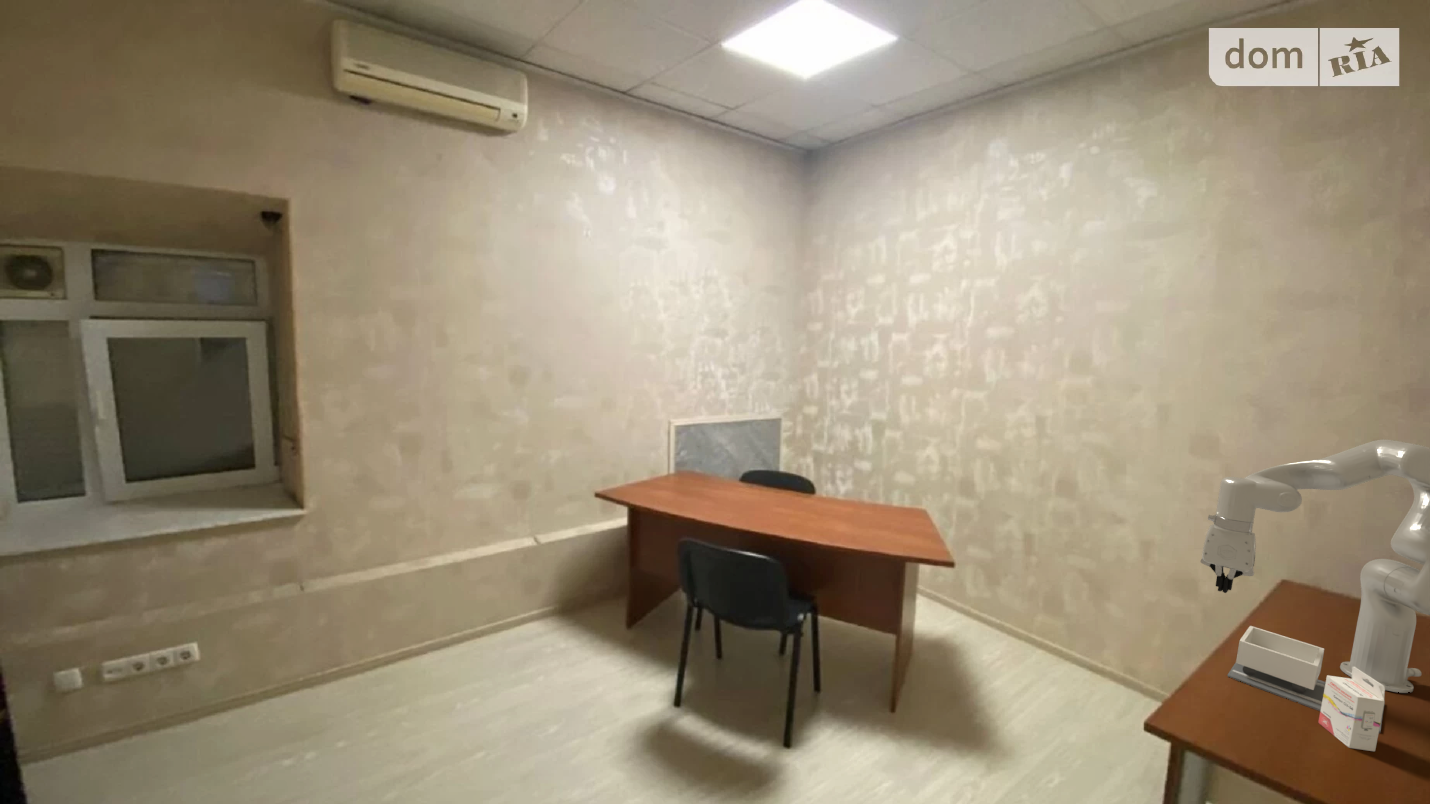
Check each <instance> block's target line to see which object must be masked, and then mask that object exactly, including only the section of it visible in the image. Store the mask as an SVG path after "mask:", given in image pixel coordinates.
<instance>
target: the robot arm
mask: <svg viewBox="0 0 1430 804" xmlns="http://www.w3.org/2000/svg"><path fill="white" fill-rule="evenodd" d="M1386 476H1395V477H1400V478H1403V479H1406V480H1407V481H1408V483H1409V484H1410V486H1411V488H1412V490H1413V497H1414V498H1413V502H1412V505H1411V507H1410V508H1409V510H1408V512H1407V513H1406V515H1405V517H1404V518H1403V519H1402V521H1401V523H1400V524H1399V526H1398V527H1397V529H1396V531H1395V532H1394V534H1393V536H1391V537H1392V538H1391V540H1390V547H1391V549H1392V550H1393V551H1394V553H1395V554H1397V555H1399V556H1401V557H1403V558H1405V559H1407V560H1409V561H1412V562H1415V563H1417V564H1420V565H1422V568H1421V569H1419V568H1417V567H1414V566H1411V565H1409V564H1406V563H1403V562H1401V561H1398V560H1395V559H1389V558H1378V559H1377V558H1375V559H1373V560H1369V561H1368V562H1367V563H1365V564H1364V566H1363V567H1362V568H1361V570H1360V575H1359V576H1360V578H1359V580H1360V589H1361V591H1360V592H1361V599H1360V606H1359V613H1358V617H1357V622H1356V628H1355V633H1354V638H1353V645H1352V649H1351V655H1350V661H1342V662H1341V663H1340V666H1339V668H1340V670H1341V672H1343V673H1344V674H1345V675H1347V676H1348V677H1350V678H1352V667H1356V668H1357V669H1359V670H1360V671H1362V672H1364V673H1365V674H1367V675H1368V676H1370V677H1371V678H1373V679H1374V680H1376V681H1377V682H1379V683H1380V684H1382V685H1383V686H1384V687H1385V691H1389V692H1392V693H1398V692H1399V694H1409V693H1408V692H1410V693H1413V691H1414V685H1413V683H1411V682H1410V680H1408V679H1409V678H1411V677H1421V676H1422V671H1421V670H1420V669H1419V668H1417V667H1416V668H1415V667H1414V668H1413V667H1408V665H1409V662H1410V656H1411V652H1412V646H1413V642H1414V635H1415V632H1416V631H1415V630H1416V625H1417V615H1416V614H1417V613H1416V612H1418V613H1421V614H1424V615H1426V616H1427V615H1428V616H1430V447H1428V446H1425V445H1421V444H1417V443H1416V444H1415V443H1411V442H1410V443H1409V442H1405V441H1399V440H1393V439H1378V440H1377V439H1376V440H1373V441H1369V442H1366V443H1363V444H1360V445H1357V446H1355V447H1352V448H1349V449H1346V450H1343V451H1341V452H1338V453H1334V454H1331V455H1329V456H1326V457H1322V458H1317V459H1312V460H1310V459H1309V460H1304V461H1298V462H1297V461H1296V462H1292V463H1290V462H1289V463H1285V464H1279V465H1275V466H1271V467H1268V468H1264V469H1262V470H1259V471H1255V472H1253V473H1251V474H1249V475H1247V476H1245V477H1243V478H1242V477H1236V476H1226V477H1223V478H1222V479H1221V481H1220V485H1219V492H1218V499H1217V504H1216V511H1215V514H1214V515H1213V514H1212V515H1210V514H1208V516H1207V521H1211V522H1212V523H1213V524H1210V525H1209V527H1208V530H1207V533H1206V535H1205V539H1204V543H1203V547H1202V551H1201V553H1202V554H1201V560H1200V563H1201V564H1202V565H1205V566H1207V567H1209V568H1210V569H1211V570H1212V571H1213V573H1215V575H1216V580H1215V581H1216V582H1215V587H1217V592H1222V593H1224V594H1227V593H1228V592H1229V591H1232V590H1233V582H1234V579H1236V578H1238V577H1241V576H1244V577H1245V576H1246V577H1253V576H1254V575H1255V571H1254V566H1255V561H1256V548H1257V545H1256V544H1257V540H1256V533H1255V532H1253V529H1254V528H1253V527H1254V521H1255V516H1256V510H1257V509H1260V510H1266V511H1269V512H1270V511H1271V512H1275V513H1290V512H1293V511H1295V510H1297V509H1298V508H1300V506H1301V504H1302V501H1303V498H1302V495H1301V493H1300V491H1298V490H1319V491H1320V490H1323V491H1343V490H1347V489H1351V488H1354V487H1355V486H1359V485H1362V484H1366V483H1368V482H1371V481H1373V480H1378V479H1381V478H1384V477H1386ZM1224 568H1227V569H1229V572H1228V573H1227V575H1225V572H1224ZM1362 679H1363V681H1365V682H1366V683H1368V684H1369V685H1371V686H1372V687H1374V685H1373V684H1372V683H1370V682H1369V680H1368V679H1364V678H1362Z"/></svg>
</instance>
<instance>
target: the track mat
mask: <svg viewBox="0 0 1430 804" xmlns="http://www.w3.org/2000/svg"><path fill="white" fill-rule="evenodd" d="M1243 667H1244V666H1243V665H1240V664H1238V663H1236V662H1235V663H1234V664H1233V666H1232V667H1231V669H1230V670H1229V672H1228V674H1227V675H1226V677H1227V676H1228V677H1227V678H1229V677H1230V678H1229V679H1231V678H1233V679H1232V680H1234V679H1235V680H1234V681H1238V682H1240V681H1241V682H1240V683H1242V682H1243V684H1245V683H1246V685H1248V686H1250V685H1251V686H1252V687H1253V688H1256V689H1259V690H1262V691H1265V692H1266V693H1267V692H1268V693H1269V692H1270V693H1269V694H1272V695H1276V696H1278V697H1280V698H1283V699H1286V698H1287V700H1288V699H1289V700H1288V701H1291V702H1294V703H1296V702H1298V703H1297V704H1299V705H1303V706H1305V707H1307V708H1311V709H1313V710H1316V711H1319V712H1320V710H1321V705H1322V700H1323V694H1324V689H1325V684H1326V681H1323V680H1321V679H1319V678H1318V679H1317V682H1316V685H1315V687H1314V690H1311V689H1309V688H1306V691H1305V693H1303V694H1299V693H1296V692H1295V691H1294V690H1293V689H1292V684H1293V683H1292V682H1289V681H1286V680H1283V679H1280V678H1277V677H1275V676H1272V675H1269V674H1266V673H1263V672H1260V671H1257V670H1256V673H1255V675H1253V676H1249V675H1247V674H1245V673H1244V672H1243ZM1384 709H1385V707H1384V708H1383V711H1384ZM1383 716H1384V712H1383V713H1382V718H1381V723H1380V728H1379V733H1378V734H1381V732H1382V731H1381V730H1382V725H1383V723H1382V722H1383Z"/></svg>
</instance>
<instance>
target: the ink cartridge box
mask: <svg viewBox="0 0 1430 804" xmlns="http://www.w3.org/2000/svg"><path fill="white" fill-rule="evenodd" d="M1362 678H1364V679H1368V680H1369V682H1370V683H1372V684H1373V685H1374V686H1371V685H1369V684H1368V683H1366V682H1365V681H1363V679H1362ZM1325 679H1326V680H1325V682H1326V684H1325V689H1324V694H1323V700H1322V705H1321V710H1320V711H1319V716H1318V724H1319V725H1320V726H1322V727H1323V728H1324V729H1325V730H1326V731H1328V732H1329V733H1330V734H1331V735H1332V736H1334V737H1335V738H1336V739H1338V740H1339V741H1340V742H1342V744H1344V745H1345V746H1346V747H1347V748H1350V749H1355V750H1363V751H1370V752H1376V748H1377V743H1378V738H1379V734H1380V733H1379V728H1380V723H1381V718H1382V719H1383V717H1382V713H1383V714H1384V710H1383V708H1384V709H1385V704H1386V703H1385V702H1386V701H1385V694H1386V690H1385V687H1384V686H1383V685H1382V684H1380V683H1379V682H1377V681H1376V680H1374V679H1373V678H1371V677H1370V676H1368V675H1367V674H1365V673H1364V672H1362V671H1360V670H1359V669H1357V668H1356V667H1352V677H1350V678H1349V677H1341V676H1335V675H1329V674H1328V675H1326V678H1325Z"/></svg>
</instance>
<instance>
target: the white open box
mask: <svg viewBox="0 0 1430 804" xmlns="http://www.w3.org/2000/svg"><path fill="white" fill-rule="evenodd" d="M1236 653H1237V655H1236V660H1235V663H1238V664H1240V665H1243V666H1244V667H1243V672H1244V673H1245V674H1247V675H1249V676H1253V675H1255V673H1256V670H1257V671H1260V672H1263V673H1266V674H1269V675H1272V676H1275V677H1277V678H1280V679H1283V680H1286V681H1289V682H1292V683H1293V684H1292V689H1293V690H1294V691H1295V692H1296V693H1299V694H1303V693H1305V691H1306V688H1309V689H1311V690H1314V687H1315V685H1316V682H1317V679H1318V680H1319V676H1320V674H1321V670H1322V665H1323V658H1324V654H1325V648H1323V647H1320V646H1317V645H1314V644H1311V643H1308V642H1305V641H1301V640H1298V639H1295V638H1292V637H1291V638H1290V637H1288V636H1284V635H1281V634H1279V633H1275V632H1271V631H1269V630H1265V629H1262V628H1259V627H1256V626H1252V625H1249V627H1247V629H1246V631H1245V632H1244V634H1243V635H1242V636H1241V637H1240V640H1239V643H1238V649H1237V652H1236Z"/></svg>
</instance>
